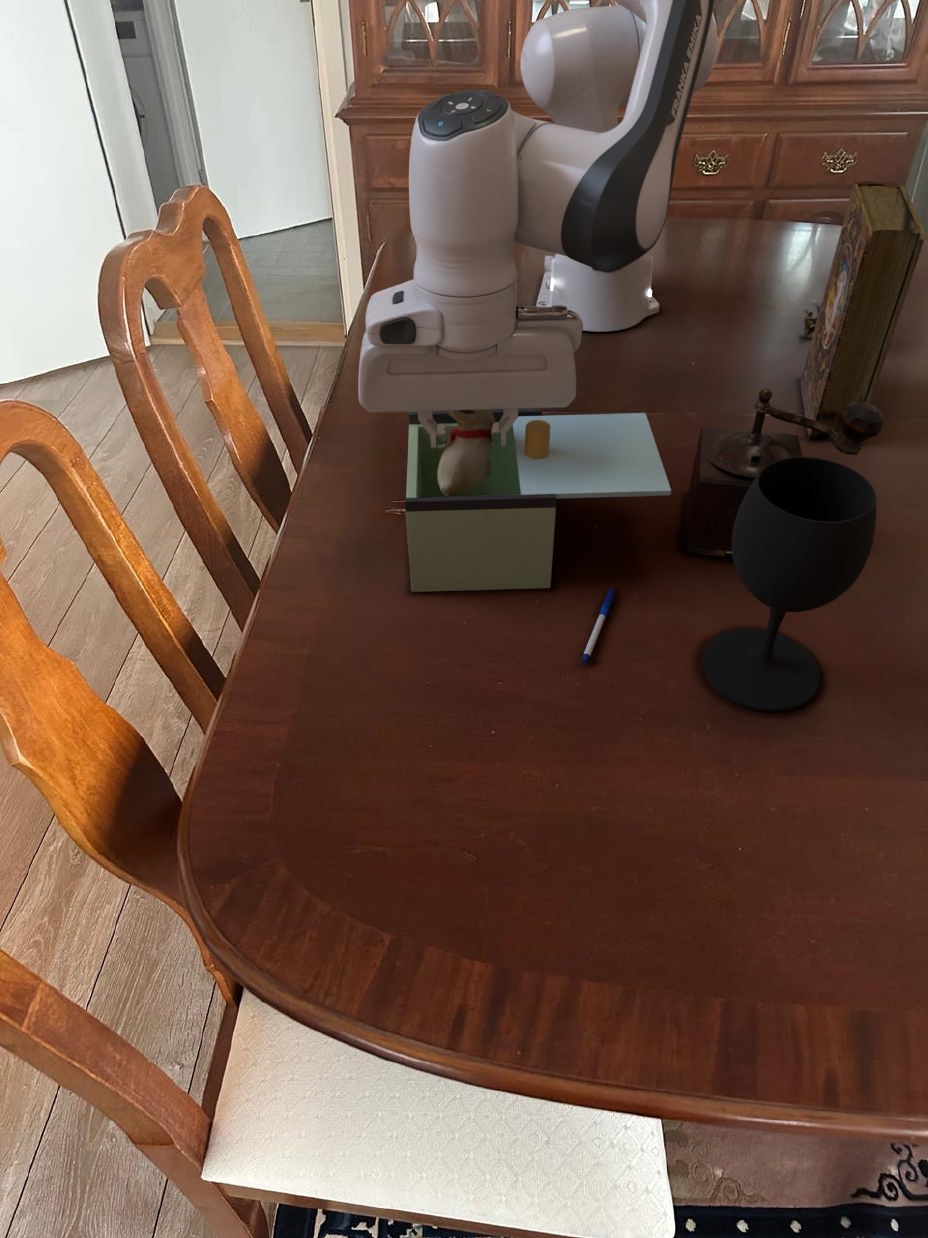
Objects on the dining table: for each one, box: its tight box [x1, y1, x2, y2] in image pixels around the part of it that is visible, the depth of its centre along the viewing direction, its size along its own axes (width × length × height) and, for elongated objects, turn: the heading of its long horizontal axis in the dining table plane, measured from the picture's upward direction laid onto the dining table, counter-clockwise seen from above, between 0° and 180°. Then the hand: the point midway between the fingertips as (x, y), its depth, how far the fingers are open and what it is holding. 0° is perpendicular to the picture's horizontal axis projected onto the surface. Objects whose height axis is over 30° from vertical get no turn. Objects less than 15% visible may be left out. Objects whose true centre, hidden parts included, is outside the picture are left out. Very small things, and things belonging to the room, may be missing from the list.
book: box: [800, 180, 926, 439], centre depth 105 cm, size 16×6×25 cm, turn 168°
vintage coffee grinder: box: [682, 388, 885, 560], centre depth 90 cm, size 16×11×18 cm
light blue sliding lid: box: [513, 412, 672, 500], centre depth 87 cm, size 14×14×4 cm
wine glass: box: [702, 456, 877, 713], centre depth 74 cm, size 10×10×20 cm
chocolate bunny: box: [437, 409, 495, 496], centre depth 87 cm, size 6×8×10 cm
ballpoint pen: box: [581, 587, 616, 664], centre depth 85 cm, size 10×1×1 cm, turn 160°
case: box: [404, 408, 557, 593], centre depth 92 cm, size 16×14×11 cm
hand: (468, 444), depth 88 cm, fingers closed on chocolate bunny, 4 cm apart
